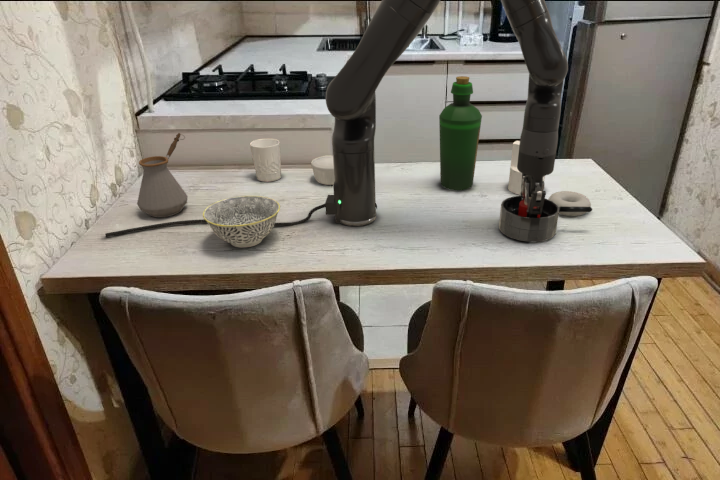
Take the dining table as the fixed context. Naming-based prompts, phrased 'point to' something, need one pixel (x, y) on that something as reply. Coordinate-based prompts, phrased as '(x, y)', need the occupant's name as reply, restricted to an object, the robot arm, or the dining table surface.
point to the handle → (575, 209)
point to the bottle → (459, 137)
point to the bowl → (242, 219)
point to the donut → (570, 201)
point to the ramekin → (323, 169)
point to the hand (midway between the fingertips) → (528, 222)
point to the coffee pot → (160, 186)
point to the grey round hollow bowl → (528, 221)
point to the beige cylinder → (266, 159)
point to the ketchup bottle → (524, 209)
